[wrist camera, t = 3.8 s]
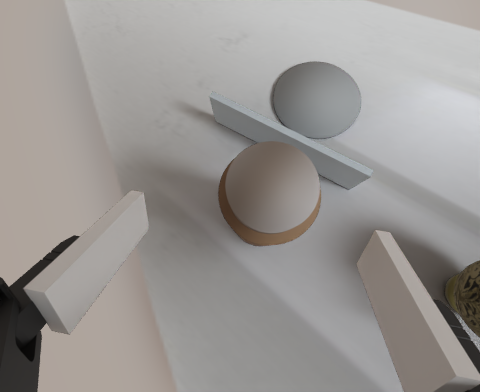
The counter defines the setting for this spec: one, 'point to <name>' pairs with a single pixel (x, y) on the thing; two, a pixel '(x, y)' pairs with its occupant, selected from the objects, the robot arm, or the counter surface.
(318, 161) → the acrylic wall
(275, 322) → the counter surface
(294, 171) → the pepper mill
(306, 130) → the coaster
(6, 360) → the robot arm
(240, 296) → the counter surface
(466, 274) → the cup
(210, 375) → the counter surface
